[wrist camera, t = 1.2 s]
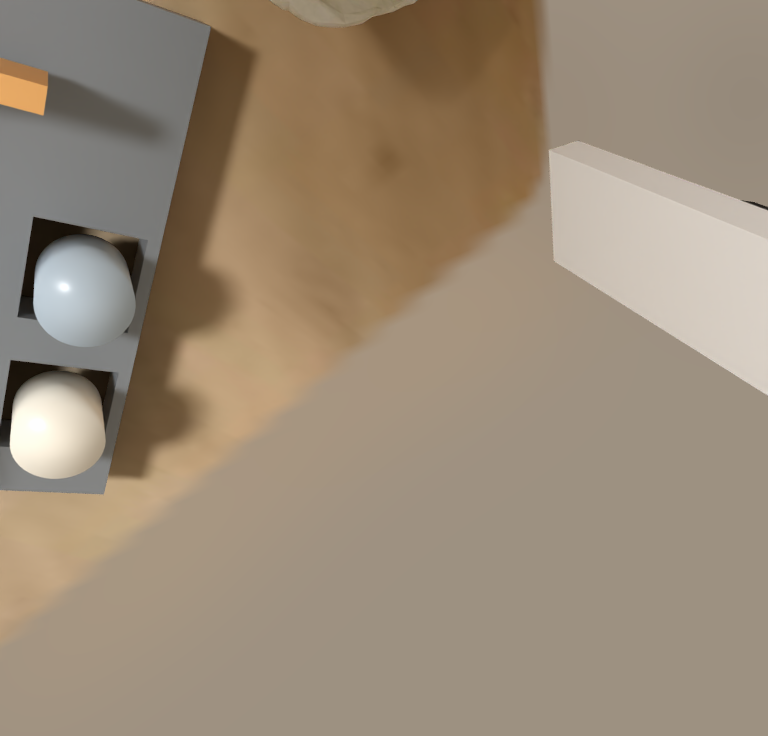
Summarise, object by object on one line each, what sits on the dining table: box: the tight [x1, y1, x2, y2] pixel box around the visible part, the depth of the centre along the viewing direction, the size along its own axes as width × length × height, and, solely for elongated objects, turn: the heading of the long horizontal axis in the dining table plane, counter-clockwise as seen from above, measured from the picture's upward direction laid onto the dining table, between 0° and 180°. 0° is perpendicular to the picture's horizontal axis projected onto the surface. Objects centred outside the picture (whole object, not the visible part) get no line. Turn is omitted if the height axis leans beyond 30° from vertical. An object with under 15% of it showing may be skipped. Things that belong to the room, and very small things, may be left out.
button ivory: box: [10, 370, 106, 479], centre depth 34 cm, size 4×4×3 cm
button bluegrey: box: [33, 234, 136, 347], centre depth 32 cm, size 4×4×3 cm
